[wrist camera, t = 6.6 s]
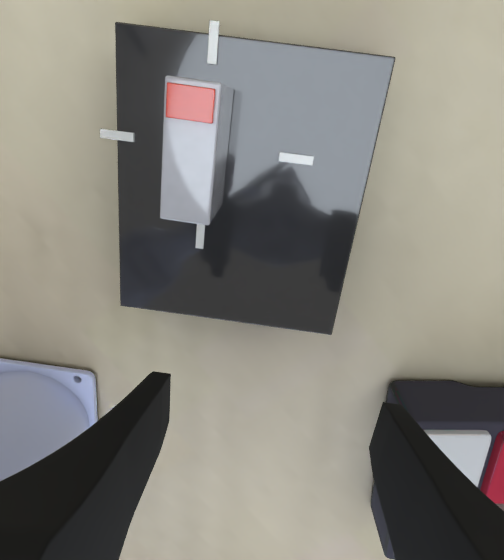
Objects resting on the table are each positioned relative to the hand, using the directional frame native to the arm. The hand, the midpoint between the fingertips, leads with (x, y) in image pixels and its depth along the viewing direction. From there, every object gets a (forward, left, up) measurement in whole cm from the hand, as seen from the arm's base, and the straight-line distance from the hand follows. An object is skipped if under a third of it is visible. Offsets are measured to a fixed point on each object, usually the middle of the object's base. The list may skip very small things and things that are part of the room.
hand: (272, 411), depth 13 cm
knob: (-4, +8, -6) cm, 11 cm away
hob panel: (-2, +6, -9) cm, 11 cm away
